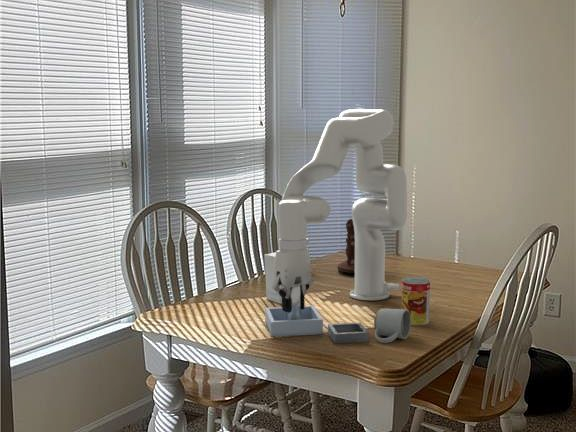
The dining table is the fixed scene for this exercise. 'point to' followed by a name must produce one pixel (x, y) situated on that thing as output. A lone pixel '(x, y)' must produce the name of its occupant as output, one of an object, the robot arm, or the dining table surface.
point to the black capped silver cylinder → (295, 301)
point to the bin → (293, 322)
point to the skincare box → (271, 278)
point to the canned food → (416, 299)
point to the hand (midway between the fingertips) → (293, 309)
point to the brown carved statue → (349, 250)
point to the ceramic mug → (392, 324)
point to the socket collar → (348, 333)
